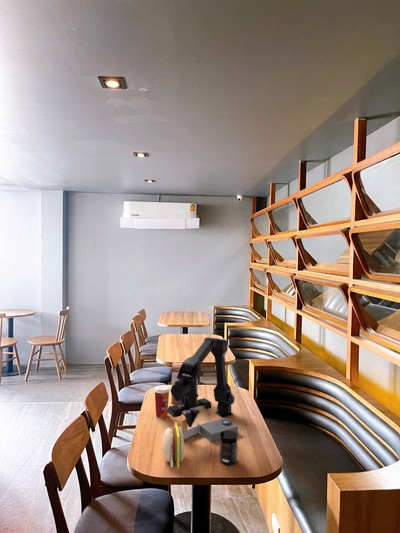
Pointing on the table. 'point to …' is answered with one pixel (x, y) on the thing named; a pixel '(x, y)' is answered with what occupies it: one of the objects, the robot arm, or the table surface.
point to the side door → (188, 429)
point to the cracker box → (175, 372)
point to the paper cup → (161, 400)
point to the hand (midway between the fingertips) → (189, 427)
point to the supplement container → (228, 447)
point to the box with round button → (216, 429)
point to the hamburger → (173, 445)
